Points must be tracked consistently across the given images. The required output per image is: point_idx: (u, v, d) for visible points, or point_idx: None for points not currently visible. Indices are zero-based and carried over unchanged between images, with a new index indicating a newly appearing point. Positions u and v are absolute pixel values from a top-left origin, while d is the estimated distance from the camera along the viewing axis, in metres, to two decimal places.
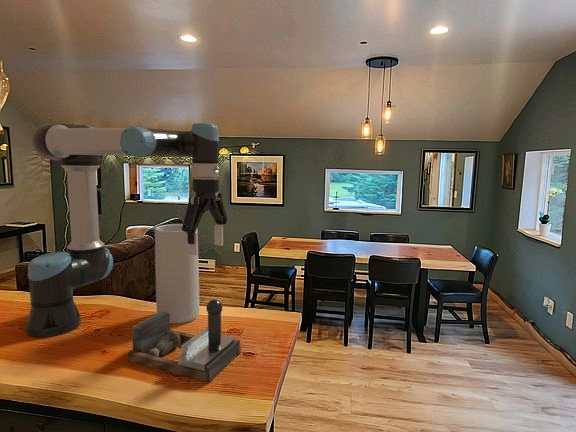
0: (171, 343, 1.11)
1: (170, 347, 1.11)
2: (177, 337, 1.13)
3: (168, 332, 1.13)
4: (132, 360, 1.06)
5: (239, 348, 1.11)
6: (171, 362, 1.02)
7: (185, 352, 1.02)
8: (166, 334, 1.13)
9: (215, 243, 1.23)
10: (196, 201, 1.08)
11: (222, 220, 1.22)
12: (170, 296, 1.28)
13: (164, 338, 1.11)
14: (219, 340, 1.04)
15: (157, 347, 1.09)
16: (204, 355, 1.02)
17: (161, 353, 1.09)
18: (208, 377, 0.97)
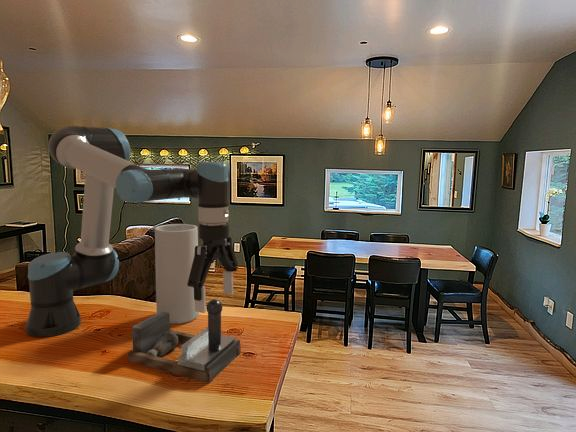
0: (169, 344, 1.11)
1: (168, 348, 1.10)
2: (175, 338, 1.12)
3: (166, 333, 1.13)
4: (132, 360, 1.06)
5: (239, 348, 1.11)
6: (171, 362, 1.02)
7: (185, 352, 1.02)
8: (164, 335, 1.12)
9: (224, 292, 1.09)
10: (203, 251, 0.95)
11: (232, 267, 1.08)
12: (170, 296, 1.28)
13: (162, 339, 1.11)
14: (219, 340, 1.04)
15: (155, 348, 1.08)
16: (204, 355, 1.02)
17: (159, 354, 1.09)
18: (208, 377, 0.97)
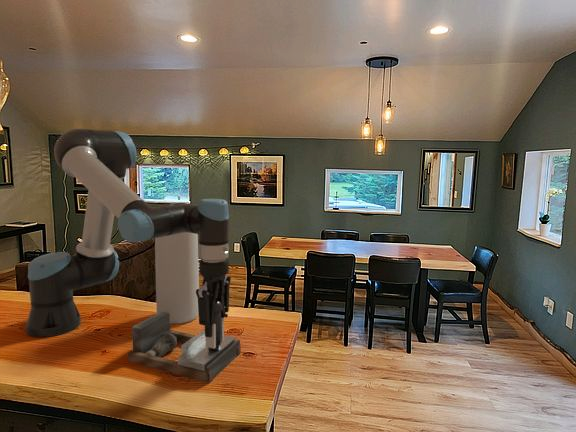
0: (167, 345, 1.10)
1: (166, 349, 1.10)
2: (174, 339, 1.12)
3: (165, 334, 1.12)
4: (132, 360, 1.06)
5: (239, 348, 1.11)
6: (171, 362, 1.02)
7: (185, 352, 1.02)
8: (163, 336, 1.12)
9: None
10: (205, 295, 0.97)
11: (223, 312, 1.06)
12: (170, 296, 1.28)
13: (160, 340, 1.10)
14: (219, 340, 1.04)
15: (153, 349, 1.08)
16: (204, 355, 1.02)
17: (157, 355, 1.08)
18: (208, 377, 0.97)
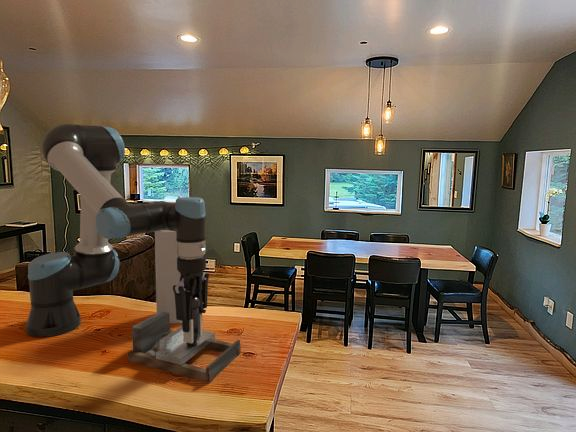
0: None
1: None
2: None
3: (165, 334, 1.12)
4: (132, 360, 1.06)
5: (239, 348, 1.11)
6: None
7: (163, 347, 1.04)
8: (163, 336, 1.11)
9: None
10: (182, 291, 0.99)
11: (202, 307, 1.09)
12: (170, 296, 1.28)
13: None
14: (197, 335, 1.07)
15: (153, 349, 1.08)
16: (182, 349, 1.04)
17: None
18: (208, 377, 0.97)
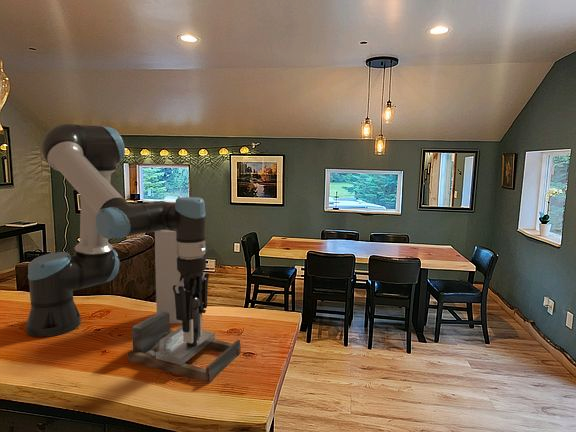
0: None
1: None
2: None
3: (166, 334, 1.12)
4: (132, 360, 1.06)
5: (239, 348, 1.11)
6: None
7: (163, 347, 1.04)
8: (164, 336, 1.11)
9: None
10: (182, 291, 0.99)
11: (202, 307, 1.09)
12: (170, 296, 1.28)
13: None
14: (197, 335, 1.07)
15: (153, 349, 1.08)
16: (182, 349, 1.04)
17: None
18: (208, 377, 0.97)
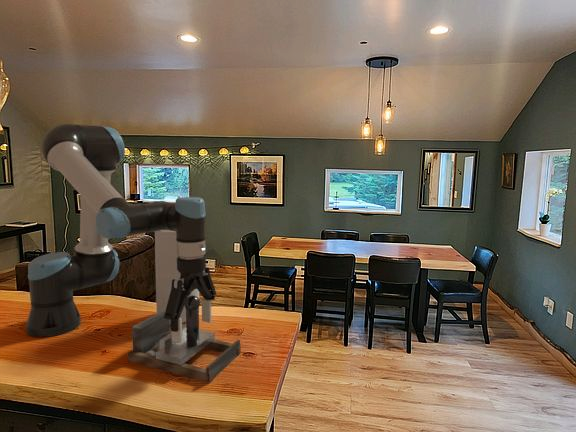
0: None
1: None
2: None
3: (166, 334, 1.12)
4: (132, 360, 1.06)
5: (239, 348, 1.11)
6: None
7: (163, 347, 1.04)
8: (163, 336, 1.11)
9: (203, 319, 1.14)
10: (180, 285, 0.99)
11: (210, 295, 1.12)
12: None
13: None
14: (197, 335, 1.07)
15: (153, 349, 1.08)
16: (182, 349, 1.04)
17: None
18: (208, 377, 0.97)
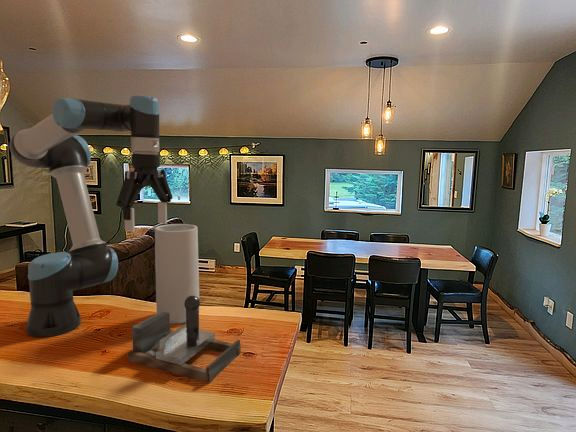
0: None
1: None
2: None
3: (166, 334, 1.12)
4: (132, 360, 1.06)
5: (239, 348, 1.11)
6: None
7: (163, 347, 1.04)
8: (163, 336, 1.11)
9: (159, 221, 1.20)
10: (132, 176, 1.05)
11: (166, 198, 1.19)
12: (170, 296, 1.28)
13: None
14: (197, 335, 1.07)
15: (153, 349, 1.08)
16: (182, 349, 1.04)
17: None
18: (208, 377, 0.97)
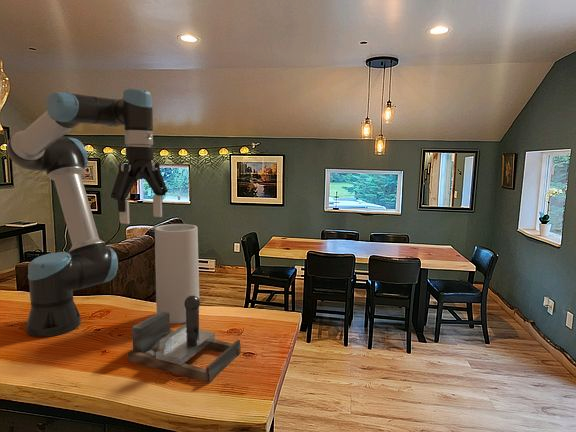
0: None
1: None
2: None
3: (165, 334, 1.12)
4: (132, 360, 1.06)
5: (239, 348, 1.11)
6: None
7: (163, 347, 1.04)
8: (163, 336, 1.11)
9: (154, 215, 1.21)
10: (126, 168, 1.06)
11: (161, 191, 1.20)
12: (170, 296, 1.28)
13: None
14: (197, 335, 1.07)
15: (153, 349, 1.08)
16: (182, 349, 1.04)
17: None
18: (208, 377, 0.97)
